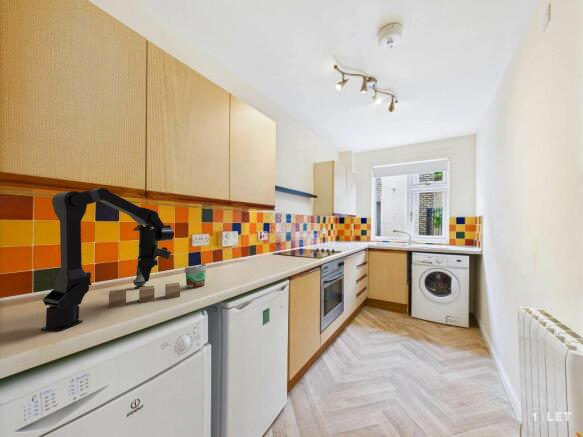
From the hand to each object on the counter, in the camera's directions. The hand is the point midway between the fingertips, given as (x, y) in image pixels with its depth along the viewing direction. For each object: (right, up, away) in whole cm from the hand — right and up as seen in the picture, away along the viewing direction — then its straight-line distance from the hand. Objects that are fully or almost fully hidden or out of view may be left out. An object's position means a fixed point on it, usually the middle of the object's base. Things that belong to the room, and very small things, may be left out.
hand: (146, 281), depth 93 cm
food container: (+13, -8, +20) cm, 25 cm away
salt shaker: (-15, -8, +19) cm, 25 cm away
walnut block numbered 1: (+8, -8, +5) cm, 12 cm away
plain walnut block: (0, -8, 0) cm, 8 cm away
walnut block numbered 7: (-8, -7, -5) cm, 12 cm away
